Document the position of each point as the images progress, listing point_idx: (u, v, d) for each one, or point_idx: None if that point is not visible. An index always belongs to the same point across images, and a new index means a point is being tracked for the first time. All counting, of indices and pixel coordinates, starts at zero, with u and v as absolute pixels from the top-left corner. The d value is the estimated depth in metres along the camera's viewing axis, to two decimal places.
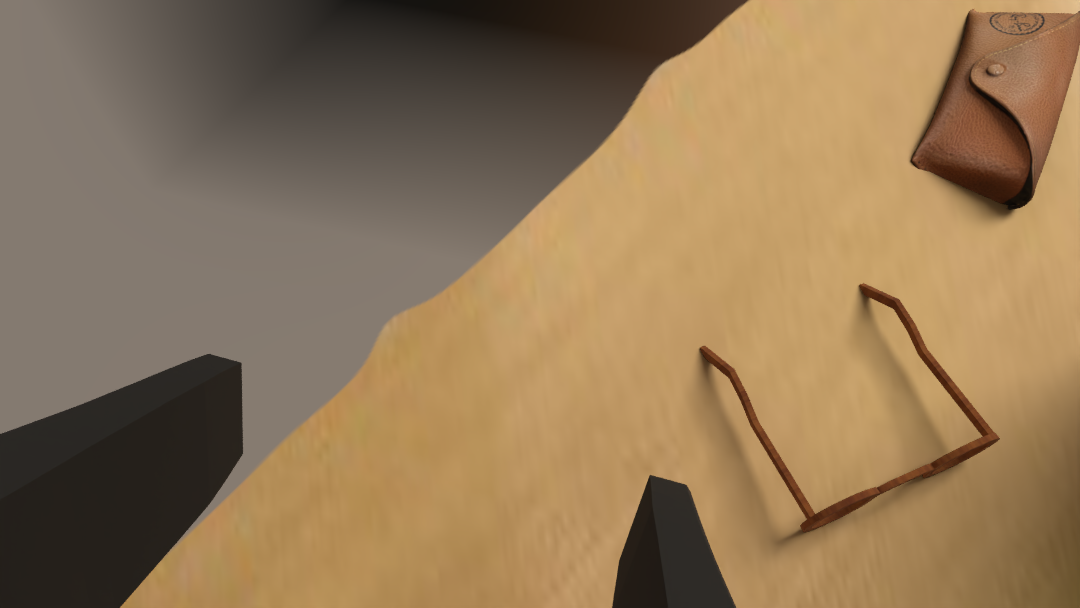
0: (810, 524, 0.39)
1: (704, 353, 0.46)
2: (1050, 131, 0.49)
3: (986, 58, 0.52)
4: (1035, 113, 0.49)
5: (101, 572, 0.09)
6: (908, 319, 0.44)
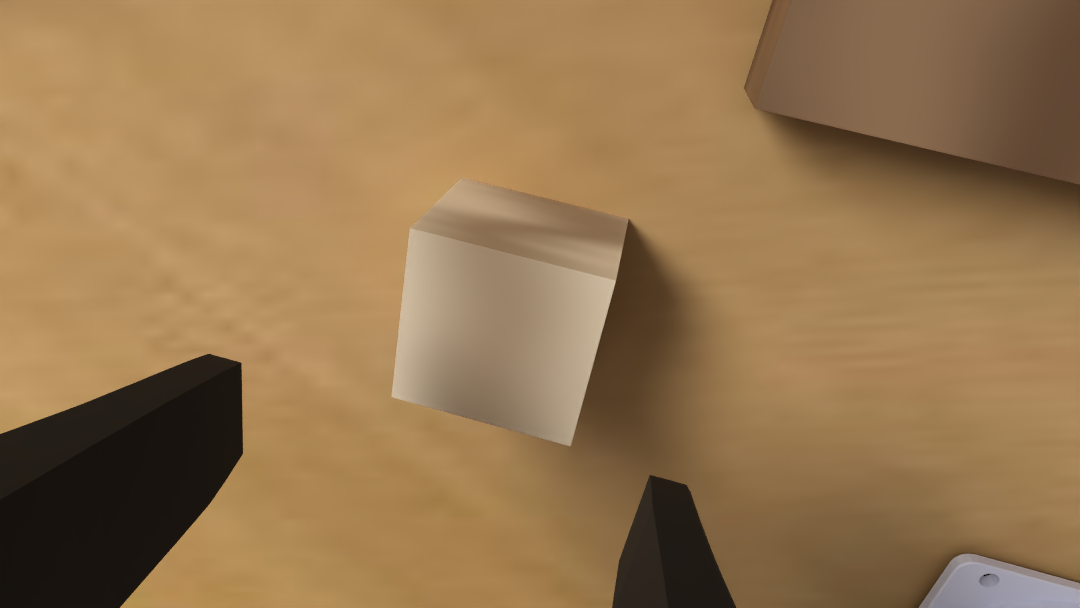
0: None
1: None
2: None
3: None
4: None
5: (101, 572, 0.09)
6: None
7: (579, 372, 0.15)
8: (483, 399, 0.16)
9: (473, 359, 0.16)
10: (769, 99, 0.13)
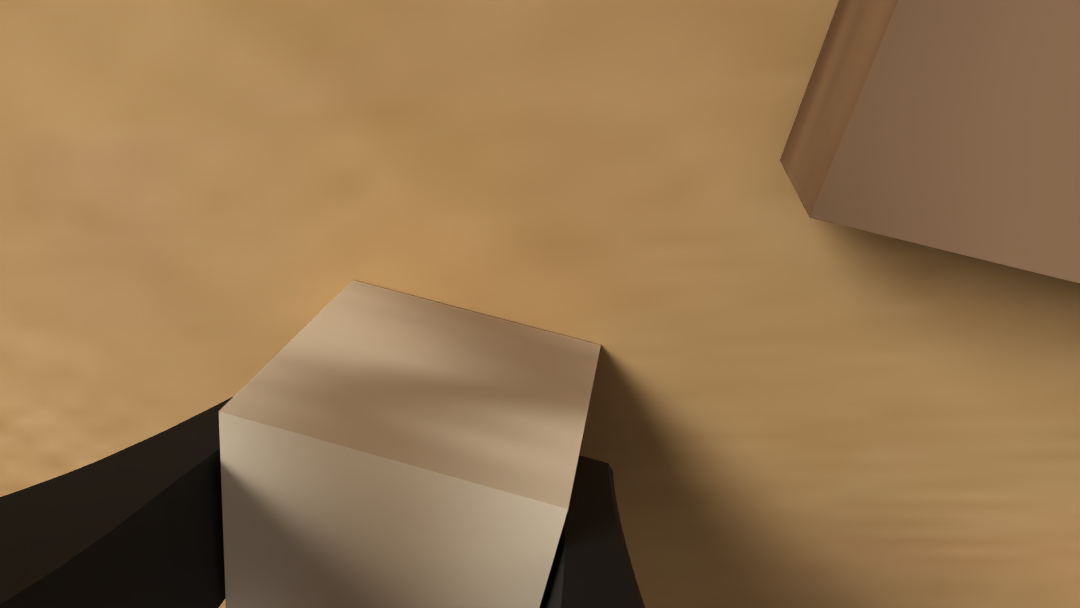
0: None
1: None
2: None
3: None
4: None
5: (187, 598, 0.09)
6: None
7: None
8: None
9: (343, 601, 0.10)
10: (837, 203, 0.08)
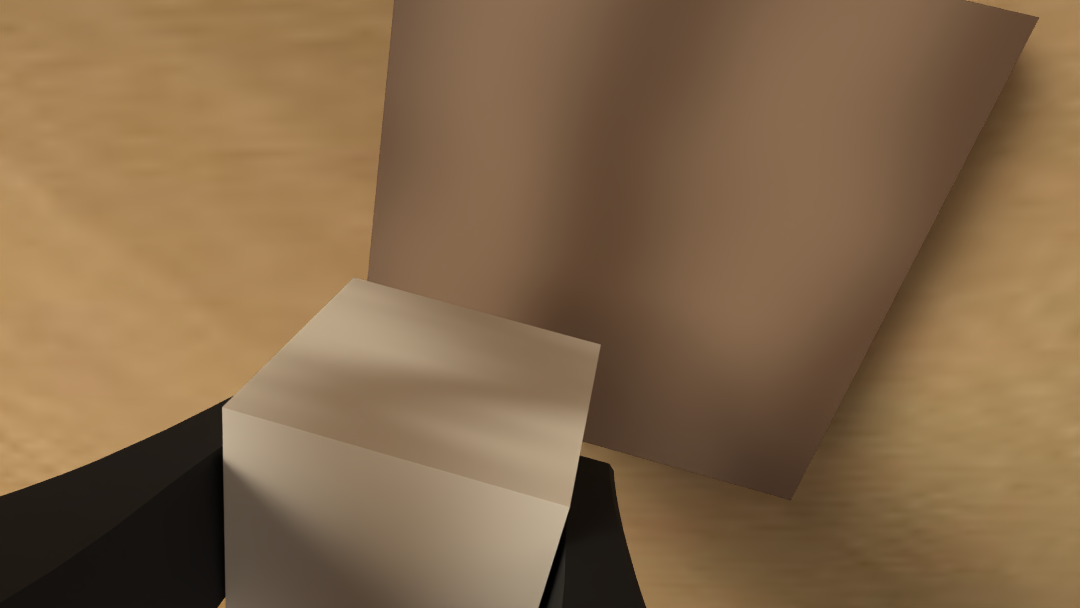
0: None
1: None
2: None
3: None
4: None
5: (186, 598, 0.09)
6: None
7: None
8: None
9: (344, 597, 0.10)
10: None
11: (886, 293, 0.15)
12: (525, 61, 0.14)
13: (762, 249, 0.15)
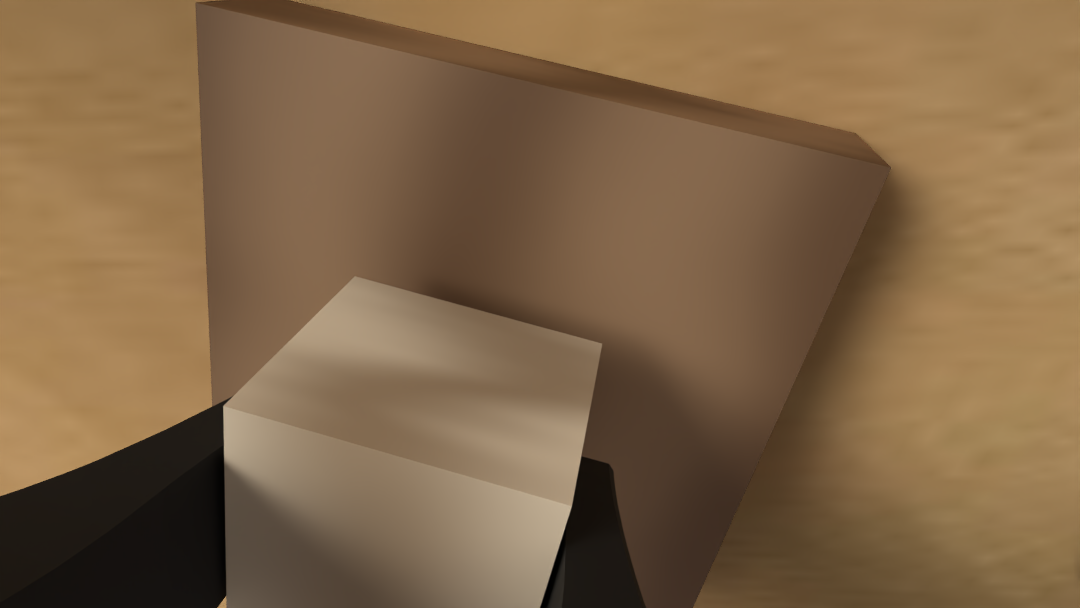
0: None
1: None
2: None
3: None
4: None
5: (186, 598, 0.09)
6: None
7: None
8: None
9: (345, 597, 0.10)
10: None
11: (756, 442, 0.14)
12: (347, 199, 0.13)
13: (620, 394, 0.14)
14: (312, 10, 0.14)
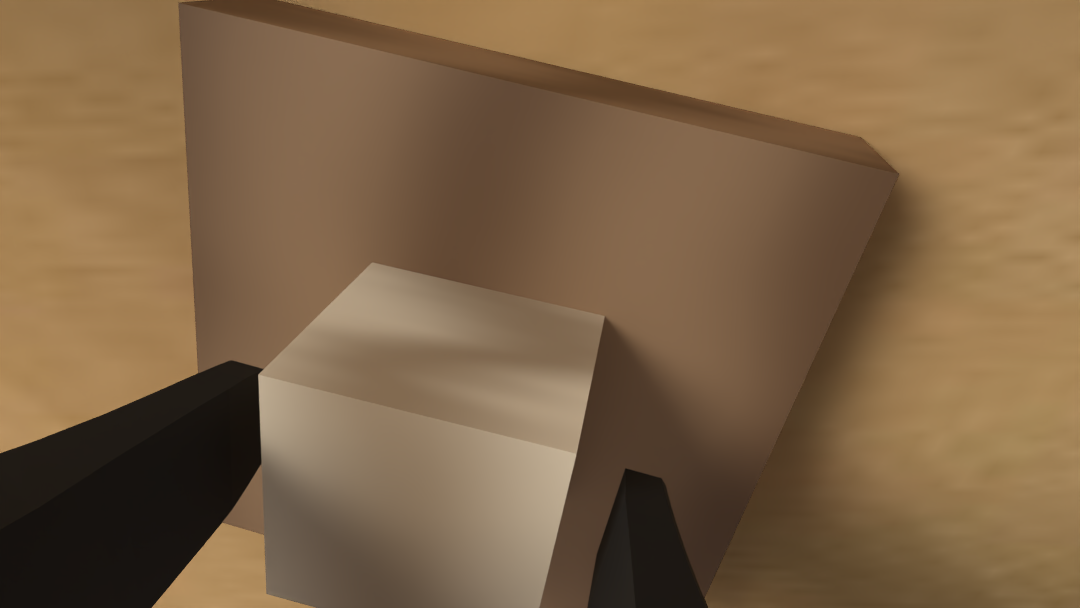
0: None
1: None
2: None
3: None
4: None
5: (128, 580, 0.09)
6: None
7: (530, 574, 0.10)
8: (395, 602, 0.11)
9: (374, 551, 0.11)
10: None
11: (758, 455, 0.13)
12: (336, 205, 0.13)
13: (618, 405, 0.13)
14: (301, 10, 0.13)
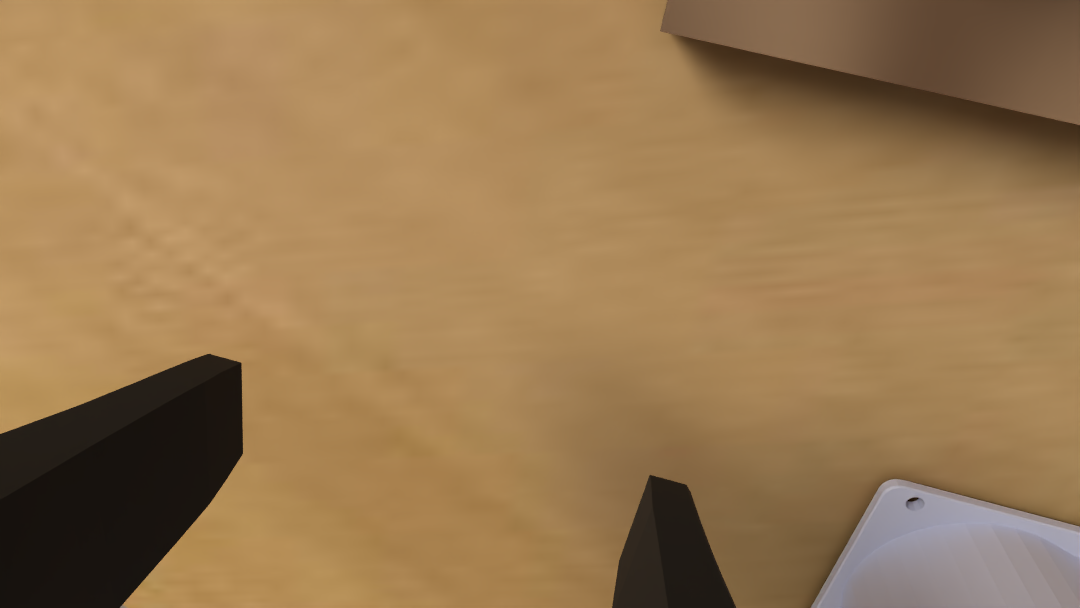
0: None
1: None
2: None
3: None
4: None
5: (101, 572, 0.09)
6: None
7: None
8: None
9: None
10: (673, 21, 0.14)
11: None
12: None
13: None
14: None
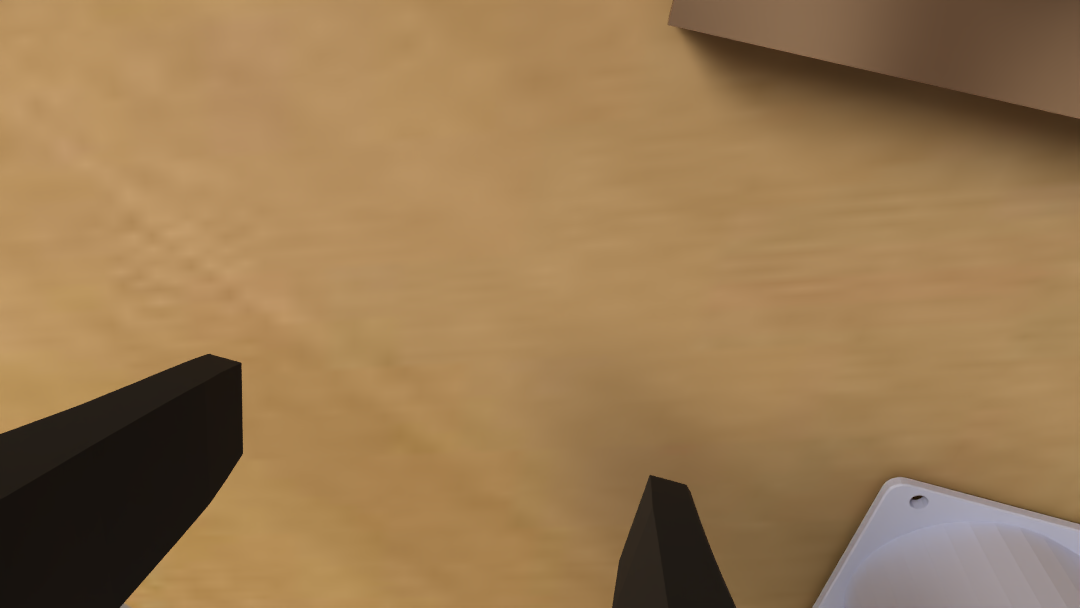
0: None
1: None
2: None
3: None
4: None
5: (101, 572, 0.09)
6: None
7: None
8: None
9: None
10: (680, 15, 0.14)
11: None
12: None
13: None
14: None
